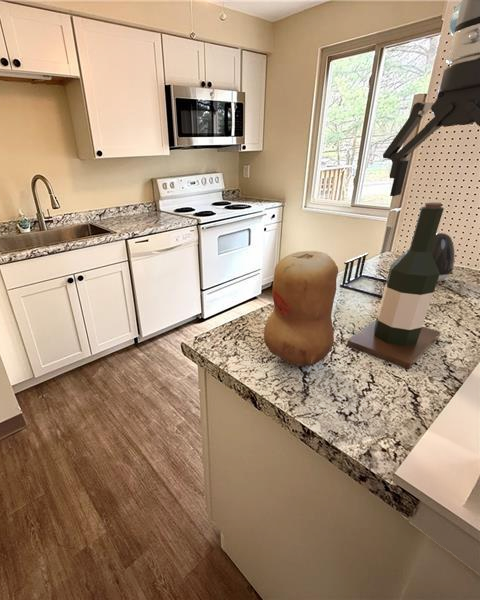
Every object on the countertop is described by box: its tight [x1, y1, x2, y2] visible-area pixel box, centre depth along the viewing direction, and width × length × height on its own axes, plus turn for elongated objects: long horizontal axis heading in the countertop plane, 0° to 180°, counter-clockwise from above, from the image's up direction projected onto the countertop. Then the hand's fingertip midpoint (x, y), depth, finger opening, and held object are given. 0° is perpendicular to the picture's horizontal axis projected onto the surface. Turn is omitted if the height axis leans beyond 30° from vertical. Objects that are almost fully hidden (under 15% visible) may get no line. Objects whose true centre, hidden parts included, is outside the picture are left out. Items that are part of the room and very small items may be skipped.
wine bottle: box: [374, 202, 445, 346], centre depth 66 cm, size 8×8×30 cm
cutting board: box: [346, 318, 442, 370], centre depth 72 cm, size 18×12×2 cm, turn 125°
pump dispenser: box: [431, 232, 456, 283], centre depth 97 cm, size 10×10×15 cm
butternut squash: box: [263, 250, 339, 367], centre depth 65 cm, size 14×13×25 cm
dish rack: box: [339, 252, 387, 299], centre depth 98 cm, size 14×14×8 cm
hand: (436, 197), depth 59 cm, fingers open, 13 cm apart
